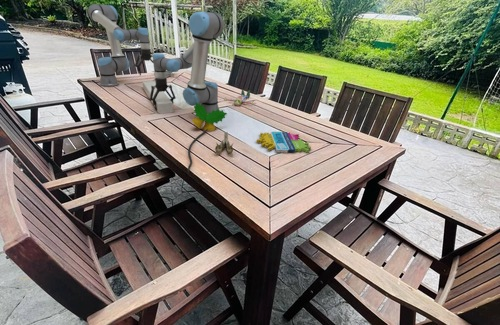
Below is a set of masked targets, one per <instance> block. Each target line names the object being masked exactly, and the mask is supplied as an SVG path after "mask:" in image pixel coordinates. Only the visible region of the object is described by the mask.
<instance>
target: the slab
mask: <svg viewBox="0 0 500 325" xmlns="http://www.w3.org/2000/svg"><path fill="white" fill-rule="evenodd" d="M141 82H142V89H143V91H144V92H145V94H146V96H147V97H148V98H149V100H150V94H151V86H155V85H156V82H155V80H154V79H153V80H142V81H141ZM156 91H157V88H155V89H154V93H153V97H154V95H155V93H156ZM153 97H152V99H153ZM170 99H171V98H170V97H168V94H167V93H165V92H163V91H162V92H159V93H158V95H157V97H156V99H155V101H156V106H157V110H156V112H157V113H158V114H168V113H170V114H171V113H174V102H173V103H172V101H171V100H170ZM150 102H151V103H152V104H153V101H152V100H150ZM153 107H154V108H155V105H153Z"/></svg>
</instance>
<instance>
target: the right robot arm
mask: <svg viewBox="0 0 500 325" xmlns="http://www.w3.org/2000/svg"><path fill="white" fill-rule="evenodd" d="M224 28H225V22H224V19H223V18H222V16H221V15H220V14H219V13H217V12H209V11H202V10H201V11H196V12H193V14H191V16H190V17H189V20H188V29H189V31H190V33H191V38H192V39H193V40H194V41H193V42H192V44H191V45H190V46H189V47H188V48H187V49H186V51H185V52H184V53H183V54H182V55H181V56H180V57H174V58H167V57H166V56H165V54H164V53H159V52H157V53H156V52H155V53H153V54H152V55H153V57H152V61H153V63H152V64H153V71H154V72H153V73H154V79H155V80H154V81H155V82H156V85H155V86H151V94H150V99H149V100H150V101H151V100H152V101H153V103H152V105H153V106H154V105H155V107H154V110H155V111H157V106H156V101H155V99H156V97H157V95H158V93H159V92H162V91H163V92H164V93H165V92H166V95H167V96H169V97H168V98H169V99H170V100H171V101H172V103H173V104H174V100H176V98H177V97H176V94H175V93H174V89H173V85H172V84H168V78H166V71H171V72H172V73H177V72H179V71H181V70H188V69H190V79H189V81H188V82H187V86H186V87H185V88H184V89H183V91H182V97H183V100H184V101H185V104H187V105H188V106H191V107H194V106H196V102H197V103H198V104H201V106H204V109H206V112H208V113H211V112H212V110H214V111H216V110H217V109H219V111H221V110H220V108H219V102H218V99H219V98H218V97H219V87H218V84H217V82H214V81H208V80H205V79H206V72H207V64H208V56H209V49H210V44H211V43H212V42H213V41H216V40H217V39H218V38H219V37H220V36H221V34H222V33H223V31H224ZM155 88H157V91H156V93H155V95H154V97H153V93H154V89H155ZM167 89H169V90H170V92H169V90H167ZM152 97H153V99H152ZM208 113H207V115H208ZM207 132H208V131H207V130H203V132H201V133H200V134H199V135H198V136H196V138H194V139H193V140H192V142H191V143H190V145H188V146H189V147H188V149H187V150H188V151H187V152H188V159H189V164H188V167H187V172H186V173H187V174H190V170H191V167H192V165H193V159H192V157H191V148H192V146H193V144H194V143H195V142H196V141H197V140H198V139H199V138H201V137H202V135H204V134H205V133H207Z"/></svg>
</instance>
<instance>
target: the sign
mask: <svg viewBox="0 0 500 325" xmlns="http://www.w3.org/2000/svg"><path fill="white" fill-rule="evenodd" d="M299 136H300V135H299V134H298V133H296V134H294V133H291V132H287V131H270V132H264V133H263V132H260V133H259V139H258V138H257V139H256V143H257V144H261V148H263V147H264V148H265V149H267V151H268V152H271V151H272V150H273V149H275V152H276V153H283V154H285V153H287V154H288V153H290V154H293V153H296V152H298V153H301V152H305V153H310V151H311V150H312V149H311V148H312V146H309V142H304V141H303V139H302V138H299Z"/></svg>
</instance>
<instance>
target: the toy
mask: <svg viewBox="0 0 500 325" xmlns="http://www.w3.org/2000/svg"><path fill="white" fill-rule="evenodd" d="M240 92H241V93H240V95H238V96H237V97H235V99H233V98H230V99H228V98H227V97H226V96H225V97H224V98H223V101H224V102H233V103H232V104H233V105H235V106H242V103H243V104H247V105H252V106H255V105H256V104H257V103H256V102H254V101H253V100H252V101H251V102H250V101H248V100H246V99H248V98H250V97H251V90H250V89H249V90H248V91H247V92H246V93H245V91H244V89H242V90H241V91H240Z"/></svg>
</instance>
